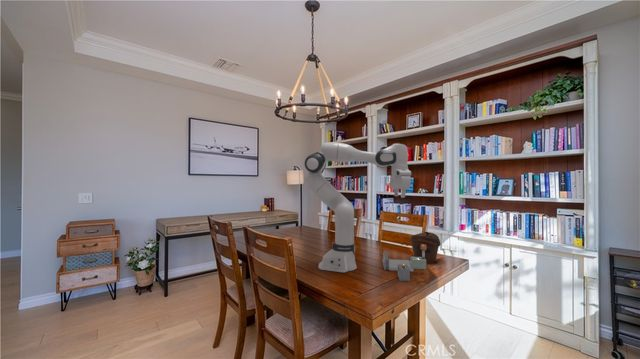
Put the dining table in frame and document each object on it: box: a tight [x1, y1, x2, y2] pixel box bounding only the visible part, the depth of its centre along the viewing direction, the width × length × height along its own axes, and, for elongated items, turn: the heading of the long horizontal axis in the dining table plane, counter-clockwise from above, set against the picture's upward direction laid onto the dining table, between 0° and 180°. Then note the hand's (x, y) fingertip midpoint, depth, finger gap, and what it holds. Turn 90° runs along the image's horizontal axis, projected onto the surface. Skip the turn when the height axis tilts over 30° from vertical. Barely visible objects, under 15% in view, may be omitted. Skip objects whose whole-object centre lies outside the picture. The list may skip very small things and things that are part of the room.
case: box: [409, 231, 442, 264], centre depth 173 cm, size 18×20×18 cm
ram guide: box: [409, 256, 427, 270], centre depth 159 cm, size 8×6×5 cm
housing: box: [397, 264, 411, 282], centre depth 142 cm, size 5×8×8 cm, turn 171°
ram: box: [413, 244, 426, 260], centre depth 159 cm, size 8×3×10 cm, turn 81°
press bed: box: [382, 251, 415, 272], centre depth 161 cm, size 16×16×6 cm
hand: (399, 197), depth 151 cm, fingers open, 8 cm apart
